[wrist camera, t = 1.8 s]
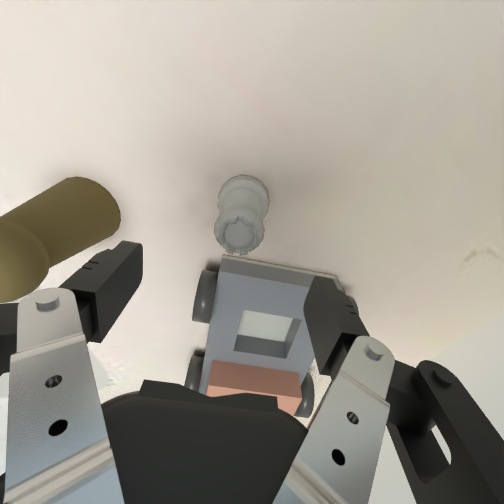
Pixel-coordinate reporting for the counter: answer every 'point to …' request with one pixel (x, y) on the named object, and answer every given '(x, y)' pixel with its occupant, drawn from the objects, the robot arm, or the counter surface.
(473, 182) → the counter surface
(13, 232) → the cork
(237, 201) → the rook chess piece
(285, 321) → the toy truck
